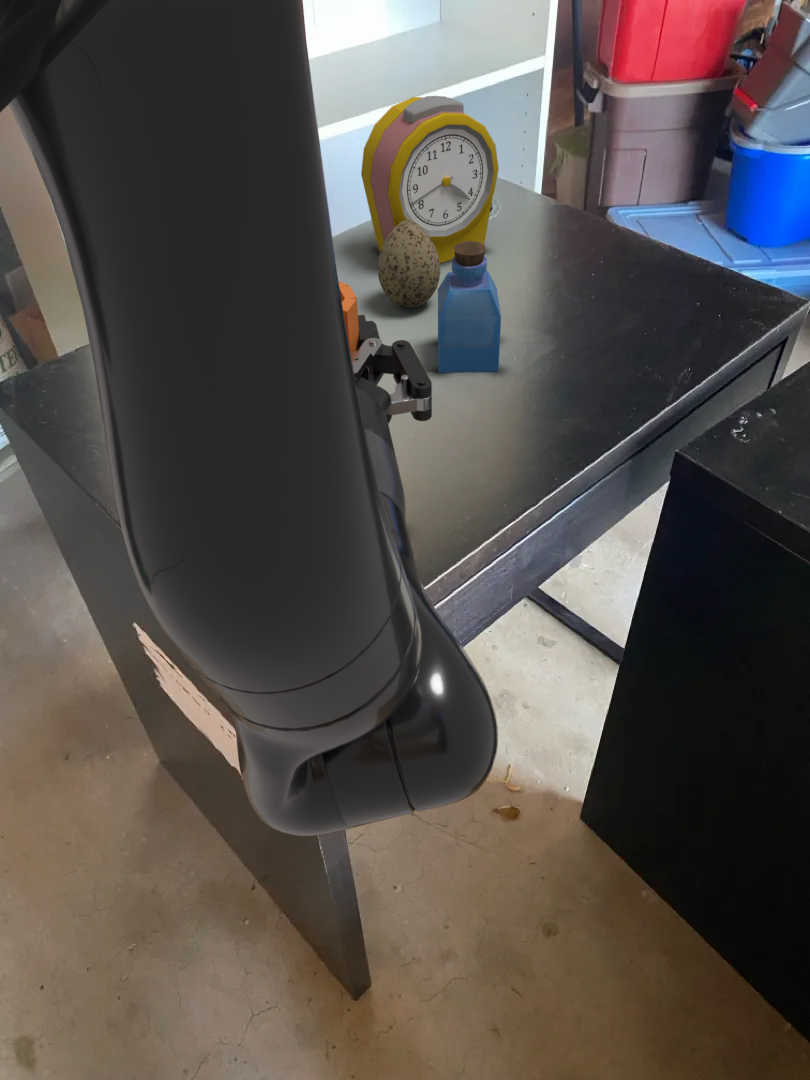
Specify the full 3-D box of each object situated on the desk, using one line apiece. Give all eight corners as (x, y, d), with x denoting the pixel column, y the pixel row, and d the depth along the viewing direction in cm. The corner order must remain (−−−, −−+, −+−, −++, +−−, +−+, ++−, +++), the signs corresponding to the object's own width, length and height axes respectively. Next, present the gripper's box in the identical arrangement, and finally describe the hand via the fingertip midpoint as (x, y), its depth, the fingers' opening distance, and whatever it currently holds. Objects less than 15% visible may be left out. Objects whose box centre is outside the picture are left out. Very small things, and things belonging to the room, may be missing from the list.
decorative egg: (452, 300, 98) (453, 216, 91) (416, 325, 94) (414, 239, 87) (404, 284, 101) (401, 202, 94) (367, 308, 97) (361, 224, 90)
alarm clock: (395, 277, 102) (388, 118, 90) (366, 253, 108) (356, 99, 95) (497, 250, 107) (504, 95, 94) (465, 228, 112) (467, 78, 100)
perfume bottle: (498, 371, 86) (504, 261, 78) (438, 372, 86) (438, 263, 78) (494, 340, 91) (499, 233, 82) (438, 342, 91) (437, 235, 83)
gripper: (461, 411, 44) (411, 270, 56) (186, 440, 42) (197, 290, 55) (458, 516, 49) (413, 367, 61) (213, 545, 48) (217, 387, 60)
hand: (311, 331), depth 58 cm, fingers closed on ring, 6 cm apart
